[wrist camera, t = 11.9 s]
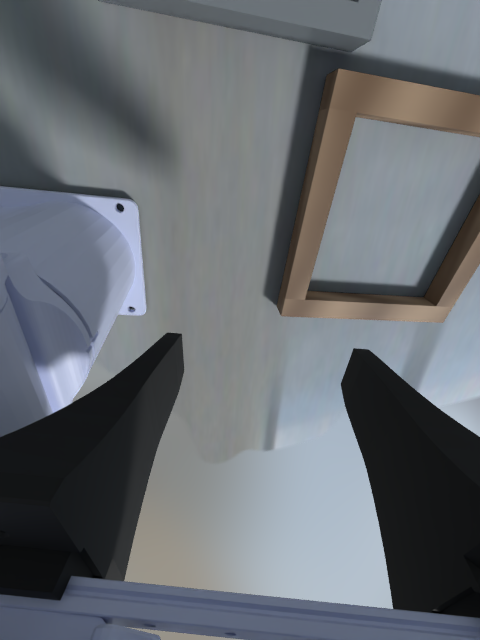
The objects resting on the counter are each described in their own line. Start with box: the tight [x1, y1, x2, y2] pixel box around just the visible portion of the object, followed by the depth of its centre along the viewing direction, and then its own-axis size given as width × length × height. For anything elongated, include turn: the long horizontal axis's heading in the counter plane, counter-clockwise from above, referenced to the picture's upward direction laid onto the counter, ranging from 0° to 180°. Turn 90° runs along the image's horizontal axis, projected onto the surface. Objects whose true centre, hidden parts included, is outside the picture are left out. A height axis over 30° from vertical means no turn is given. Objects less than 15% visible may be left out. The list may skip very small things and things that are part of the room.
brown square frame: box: [277, 69, 480, 323], centre depth 18 cm, size 14×14×2 cm
